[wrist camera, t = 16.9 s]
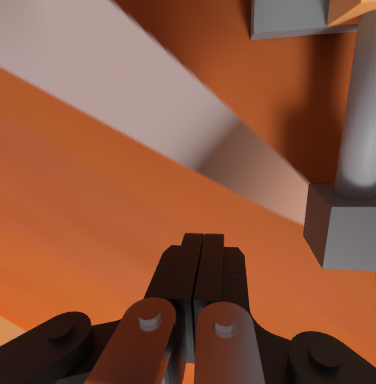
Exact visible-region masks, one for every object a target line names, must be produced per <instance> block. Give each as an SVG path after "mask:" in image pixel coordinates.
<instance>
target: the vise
mask: <svg viewBox="0 0 376 384" xmlns="http://www.w3.org/2000/svg"><path fill="white" fill-rule="evenodd" d="M329 2H330V0H251V36H250V40H259V39H271V38H283V37H295V36H308V35H320V34H332V33H344V32H356V31H357V30H358V24H349V25H337V26H327V20H328V11H329Z"/></svg>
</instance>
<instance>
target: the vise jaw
mask: <svg viewBox="0 0 376 384" xmlns="http://www.w3.org/2000/svg"><path fill="white" fill-rule="evenodd" d="M349 24H358V30H357V37H356V44H355V50H354V57H353V64H352V71H351V77H350V84H349V91H348V98H347V104H346V111H345V118H344V125H343V131H342V138H341V145H340V152H339V158H338V165H337V172H336V179H335V184H309V188H308V197H307V206H306V215H305V223H304V232H303V236H304V238H305V240H306V241H307V243H308V245H309V246H310V248H311V250H312V252H313V253H314V255H315V257H316V259H317V260H318V262H319V264H320V266H321V267H322V269H336V270H365V271H376V0H330V2H329V11H328V20H327V26H337V25H349Z"/></svg>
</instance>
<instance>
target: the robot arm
mask: <svg viewBox="0 0 376 384" xmlns="http://www.w3.org/2000/svg"><path fill="white" fill-rule="evenodd" d="M186 363H195V371H194V384H376V368H375V367H374V366H373V365H371V364H370V363H369V362H367V361H366V360H365V359H363V358H362V357H361V356H359V355H358V354H357V353H356V352H354V351H353V350H352V349H350V348H349V347H348V346H346V345H345V344H344V343H342V342H341V341H339V340H338V339H336V338H334V337H332V336H330V335H327V334H324V333H321V332H315V331H307V332H302V333H299V334H297V335H296V336H295V337H293V339H292V340H288V339H285V338H282V337H280V336H277V335H274V334H272V333H270V332H268V331H266V330H265V329H263V328H262V327H261V326H260V325H259V324H257V322H256V321H255V320H254V319H253V317H252V315H251V313H250V308H249V298H248V288H247V277H246V267H245V256H244V254H243V253H242V252H241V251H240V249H239V248H238V247H224V234H205V237H204V234H203V233H185V235H184V238H183V241H182V244H181V246H177V245H171V246H170V247H169V248H168V249H167V250H165V251H164V252H163V254H162V256H161V259H160V261H159V263H158V266H157V268H156V271H155V273H154V275H153V277H152V280H151V282H150V284H149V287H148V289H147V292H146V294H145V296H144V299H142V300H140V301H137V302H136V303H134V304H133V305H132V306H130V307H129V308H128V310H127V311H126V312H125V314H124V316H123V318H122V319H120V320H117V321H113V322H109V323H104V324H98V325H93V326H92V325H91V321H90V318H89V317H88V316H87V315H86V314H84V313H81V312H67V313H63V314H60V315H57V316H55V317H53V318H51V319H50V320H48V321H46V322H44V323H42V324H40V325H39V326H37V327H35V328H33V329H31V330H29V331H28V332H26V333H24V334H22V335H20V336H19V337H17V338H15V339H13V340H11V341H9V342H8V343H6V344H4V345H2V346H0V384H182V382H183V378H184V372H185V365H186Z"/></svg>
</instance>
